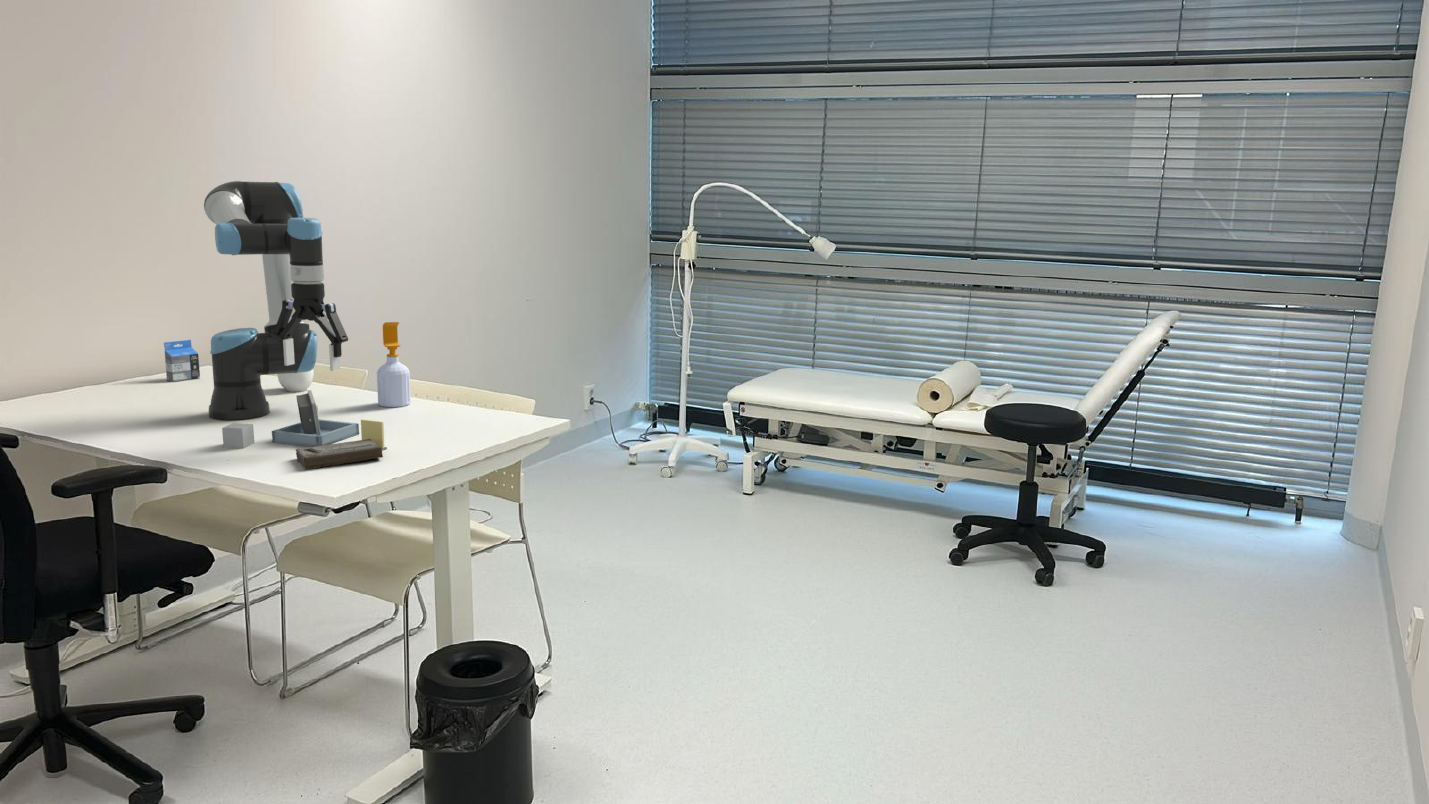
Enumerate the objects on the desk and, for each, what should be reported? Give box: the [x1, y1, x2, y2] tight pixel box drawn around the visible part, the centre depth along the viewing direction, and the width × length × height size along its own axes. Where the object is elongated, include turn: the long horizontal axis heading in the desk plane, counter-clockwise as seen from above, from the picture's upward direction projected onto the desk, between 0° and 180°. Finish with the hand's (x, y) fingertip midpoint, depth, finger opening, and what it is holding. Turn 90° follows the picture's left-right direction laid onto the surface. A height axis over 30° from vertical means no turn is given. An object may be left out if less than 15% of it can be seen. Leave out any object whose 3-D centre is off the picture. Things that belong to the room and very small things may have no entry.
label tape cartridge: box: [163, 339, 201, 383], centre depth 309 cm, size 9×4×12 cm, turn 147°
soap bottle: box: [376, 321, 412, 408], centre depth 282 cm, size 9×9×25 cm
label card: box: [360, 419, 388, 451], centre depth 235 cm, size 6×2×7 cm, turn 73°
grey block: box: [221, 422, 255, 449], centre depth 235 cm, size 5×5×5 cm
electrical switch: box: [296, 389, 321, 435], centre depth 243 cm, size 9×5×9 cm, turn 29°
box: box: [295, 439, 384, 471], centre depth 225 cm, size 11×17×3 cm, turn 123°
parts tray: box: [271, 418, 360, 447], centre depth 244 cm, size 14×15×3 cm
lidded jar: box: [276, 367, 315, 393], centre depth 299 cm, size 11×11×9 cm
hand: (312, 367), depth 241 cm, fingers open, 13 cm apart
